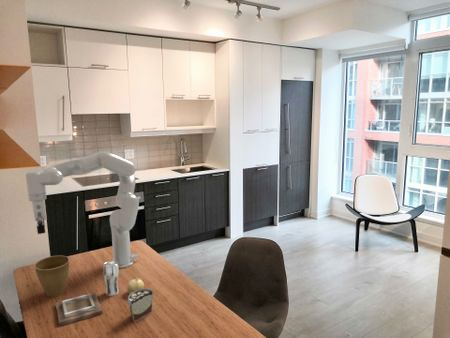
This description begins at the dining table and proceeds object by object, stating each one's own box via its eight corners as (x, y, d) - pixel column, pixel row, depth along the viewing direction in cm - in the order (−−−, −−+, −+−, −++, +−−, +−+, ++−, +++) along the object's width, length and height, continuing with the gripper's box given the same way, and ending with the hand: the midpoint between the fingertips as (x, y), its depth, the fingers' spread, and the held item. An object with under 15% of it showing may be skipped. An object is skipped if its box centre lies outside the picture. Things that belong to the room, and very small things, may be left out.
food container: (145, 305, 154) (144, 285, 153) (154, 310, 151) (153, 289, 149) (122, 318, 145) (120, 296, 143) (131, 324, 141) (129, 301, 139)
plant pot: (41, 287, 170) (38, 257, 167) (73, 283, 175) (71, 253, 172) (34, 303, 156) (31, 271, 153) (70, 298, 161) (67, 266, 158)
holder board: (95, 295, 163) (95, 289, 162) (102, 313, 148) (102, 307, 148) (56, 305, 155) (55, 299, 154) (59, 326, 140) (58, 319, 140)
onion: (141, 296, 162) (140, 283, 161) (124, 296, 162) (124, 282, 161) (146, 288, 170) (145, 274, 168) (130, 287, 170) (129, 274, 169)
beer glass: (115, 297, 161) (113, 267, 159) (102, 295, 163) (99, 266, 160) (122, 289, 168) (120, 261, 165) (109, 288, 169) (107, 260, 167)
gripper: (46, 199, 159) (50, 234, 162) (45, 191, 174) (49, 223, 177) (28, 201, 156) (32, 237, 159) (28, 193, 171) (32, 226, 174)
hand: (41, 230), depth 168 cm, fingers open, 9 cm apart
